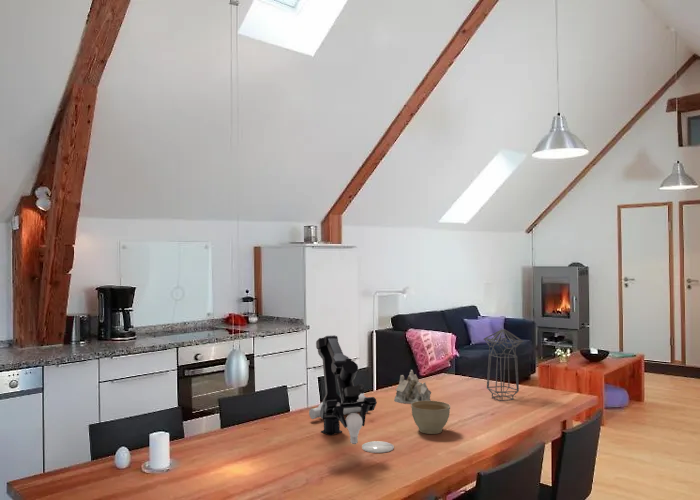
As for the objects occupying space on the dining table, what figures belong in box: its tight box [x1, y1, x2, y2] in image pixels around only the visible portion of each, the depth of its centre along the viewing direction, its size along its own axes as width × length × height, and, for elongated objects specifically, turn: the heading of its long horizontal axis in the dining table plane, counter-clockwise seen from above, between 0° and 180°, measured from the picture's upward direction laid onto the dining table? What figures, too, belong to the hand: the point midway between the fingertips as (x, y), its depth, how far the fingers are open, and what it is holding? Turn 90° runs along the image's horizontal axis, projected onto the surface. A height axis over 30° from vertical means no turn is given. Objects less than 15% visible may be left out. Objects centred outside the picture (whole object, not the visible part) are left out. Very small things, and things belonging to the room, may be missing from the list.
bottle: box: [308, 392, 366, 420], centre depth 274 cm, size 9×9×30 cm
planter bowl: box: [410, 400, 451, 435], centre depth 250 cm, size 16×16×11 cm
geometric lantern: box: [483, 328, 525, 402], centre depth 305 cm, size 16×16×35 cm
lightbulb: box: [345, 412, 363, 445], centre depth 217 cm, size 6×6×11 cm
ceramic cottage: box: [393, 369, 432, 405], centre depth 301 cm, size 16×16×15 cm
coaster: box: [361, 440, 394, 454], centre depth 229 cm, size 12×12×1 cm
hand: (354, 426), depth 215 cm, fingers closed on lightbulb, 6 cm apart
